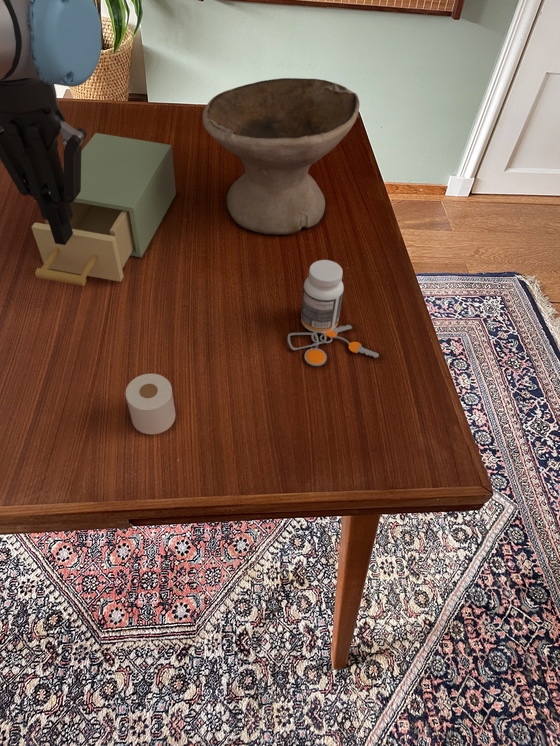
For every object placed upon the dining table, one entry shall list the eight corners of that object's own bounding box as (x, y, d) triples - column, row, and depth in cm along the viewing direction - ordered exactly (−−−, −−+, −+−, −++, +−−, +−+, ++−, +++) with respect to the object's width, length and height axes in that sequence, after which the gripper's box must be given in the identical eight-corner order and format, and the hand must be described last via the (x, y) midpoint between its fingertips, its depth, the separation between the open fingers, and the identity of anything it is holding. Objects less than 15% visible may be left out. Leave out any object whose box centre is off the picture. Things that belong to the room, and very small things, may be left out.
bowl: (295, 154, 116) (304, 49, 101) (373, 221, 104) (397, 113, 88) (181, 188, 107) (171, 78, 91) (251, 267, 94) (254, 155, 78)
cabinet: (141, 257, 94) (133, 207, 86) (62, 243, 95) (47, 193, 88) (176, 193, 106) (171, 144, 98) (105, 181, 107) (95, 132, 99)
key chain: (293, 368, 81) (293, 364, 80) (284, 330, 86) (285, 326, 85) (380, 360, 83) (381, 357, 82) (367, 324, 87) (368, 320, 87)
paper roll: (124, 427, 73) (117, 402, 69) (143, 394, 77) (137, 368, 72) (164, 439, 73) (160, 414, 68) (182, 405, 76) (179, 379, 72)
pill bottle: (315, 304, 90) (321, 251, 82) (345, 321, 87) (354, 269, 80) (292, 322, 87) (297, 270, 79) (323, 340, 84) (330, 288, 77)
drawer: (105, 309, 85) (95, 269, 79) (26, 294, 86) (10, 253, 80) (157, 215, 100) (152, 175, 94) (89, 203, 101) (80, 163, 95)
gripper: (83, 58, 65) (118, 229, 83) (-25, 42, 66) (32, 215, 84) (54, 89, 60) (97, 263, 78) (-62, 71, 61) (8, 247, 79)
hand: (64, 238), depth 81 cm, fingers closed
